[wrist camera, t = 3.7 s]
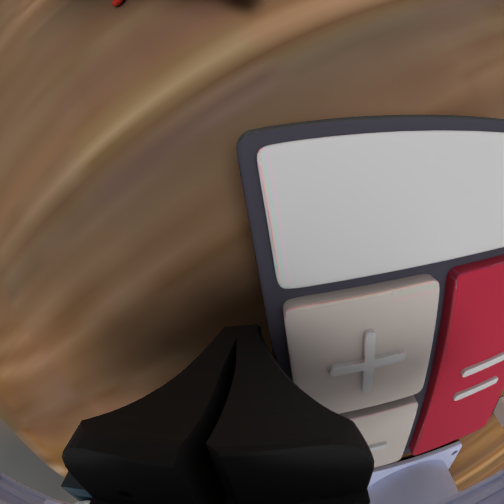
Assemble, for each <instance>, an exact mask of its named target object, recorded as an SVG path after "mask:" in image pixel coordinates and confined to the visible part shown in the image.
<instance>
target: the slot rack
mask: <svg viewBox="0 0 504 504" xmlns="http://www.w3.org/2000/svg"><path fill="white" fill-rule="evenodd" d="M493 414H494V415H495V416H496V418H497V419H498V421H499V422H500V423H501V425H502V426H503V428H504V396H503V397H501V398H499V401H498V403H497V405H496V407H495V409H494V411H493Z"/></svg>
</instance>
